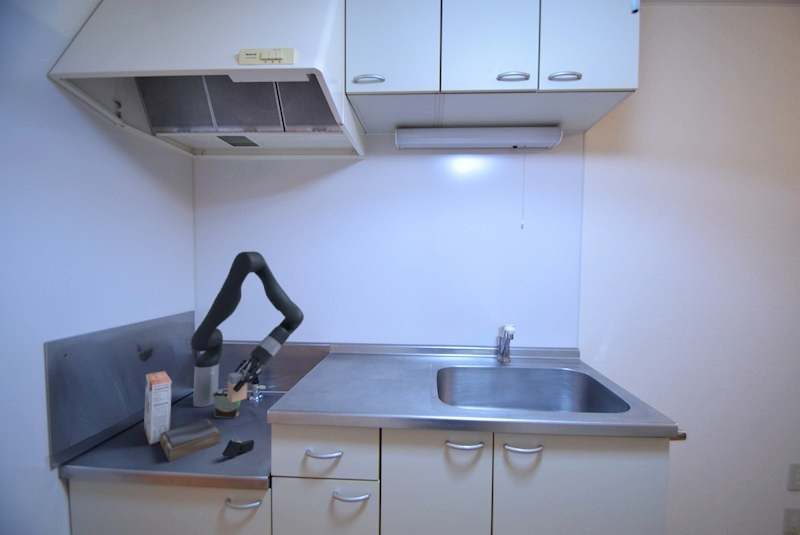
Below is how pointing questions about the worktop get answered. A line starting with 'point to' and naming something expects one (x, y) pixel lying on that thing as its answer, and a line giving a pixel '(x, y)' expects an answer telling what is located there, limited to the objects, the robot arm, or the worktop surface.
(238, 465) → the worktop surface
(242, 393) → the block
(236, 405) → the food container
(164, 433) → the stand
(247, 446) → the lighter
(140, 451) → the worktop surface
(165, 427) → the cracker box
